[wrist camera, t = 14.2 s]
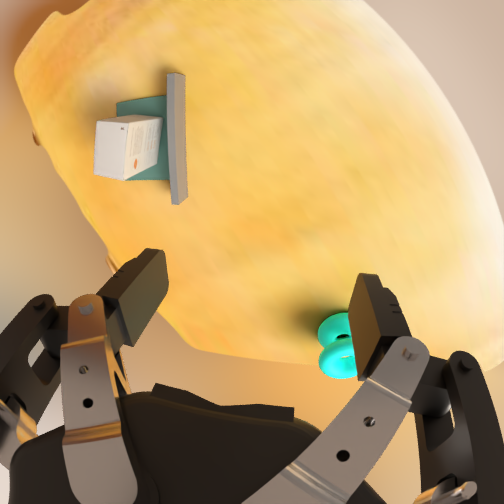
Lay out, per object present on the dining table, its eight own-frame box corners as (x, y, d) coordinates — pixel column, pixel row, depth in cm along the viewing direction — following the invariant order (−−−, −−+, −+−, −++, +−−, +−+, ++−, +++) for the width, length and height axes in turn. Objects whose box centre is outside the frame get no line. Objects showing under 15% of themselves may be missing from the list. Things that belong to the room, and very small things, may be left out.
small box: (135, 113, 38) (95, 118, 29) (164, 117, 38) (128, 121, 29) (129, 159, 42) (91, 175, 33) (157, 164, 42) (123, 181, 33)
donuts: (308, 374, 46) (338, 341, 41) (308, 336, 55) (333, 302, 50) (352, 385, 47) (384, 355, 42) (347, 349, 55) (374, 318, 51)
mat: (117, 103, 37) (116, 103, 37) (175, 94, 36) (174, 94, 36) (122, 179, 44) (121, 180, 44) (178, 179, 43) (177, 179, 43)
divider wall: (177, 76, 35) (167, 73, 31) (185, 75, 35) (174, 72, 31) (181, 196, 44) (171, 204, 41) (187, 196, 44) (178, 204, 41)
